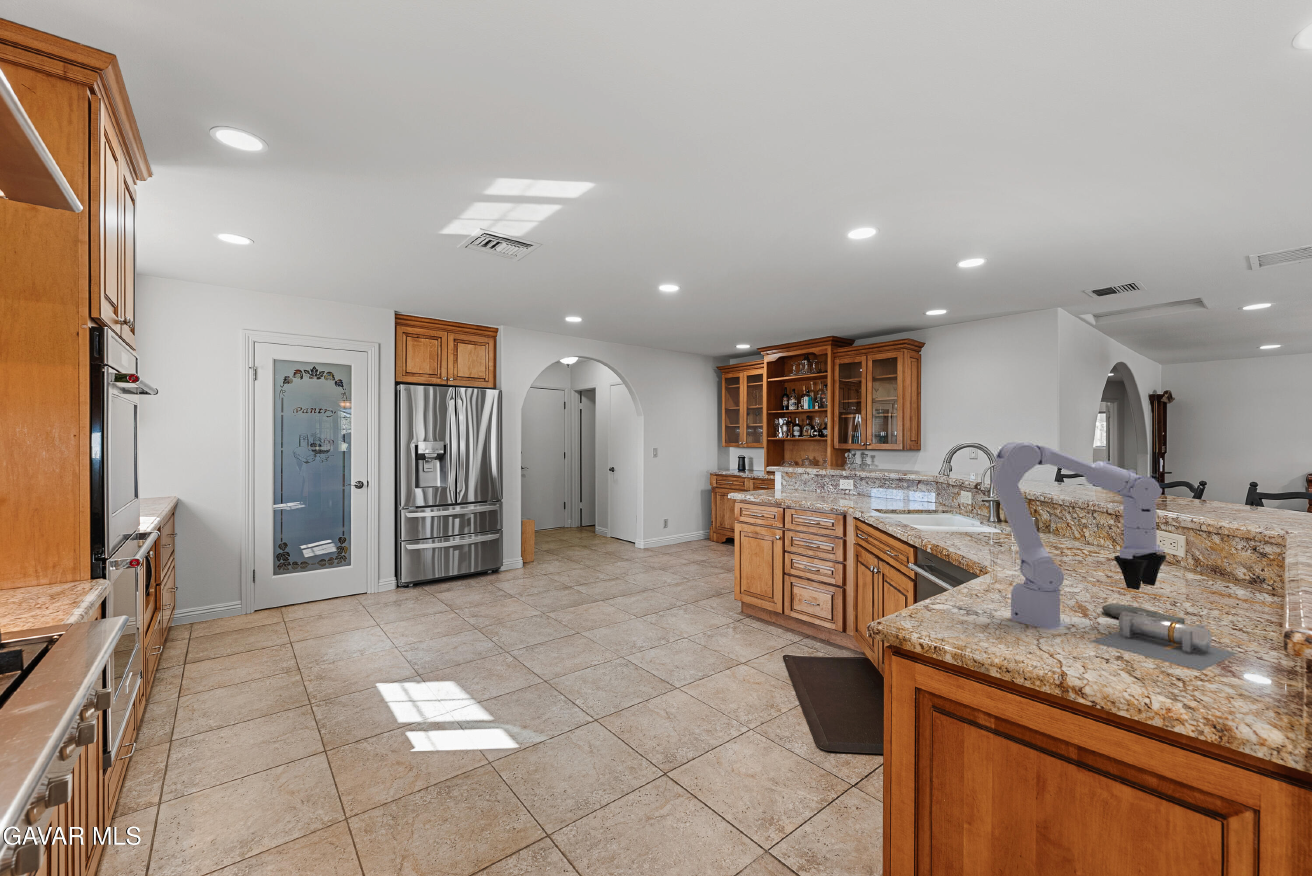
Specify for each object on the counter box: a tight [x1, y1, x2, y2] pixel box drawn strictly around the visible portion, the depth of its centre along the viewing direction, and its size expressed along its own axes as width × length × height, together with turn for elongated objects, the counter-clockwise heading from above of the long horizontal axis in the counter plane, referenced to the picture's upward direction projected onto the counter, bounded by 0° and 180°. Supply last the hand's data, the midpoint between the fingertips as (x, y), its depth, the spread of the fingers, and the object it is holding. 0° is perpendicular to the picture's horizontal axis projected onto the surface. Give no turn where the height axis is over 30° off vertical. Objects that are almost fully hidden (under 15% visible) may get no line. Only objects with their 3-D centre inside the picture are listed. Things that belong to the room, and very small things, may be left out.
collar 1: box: [1123, 612, 1146, 639], centre depth 123 cm, size 1×8×4 cm, turn 118°
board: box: [1089, 630, 1238, 672], centre depth 116 cm, size 18×18×1 cm
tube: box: [1118, 611, 1213, 651], centre depth 118 cm, size 14×4×4 cm, turn 28°
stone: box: [1101, 603, 1186, 624], centre depth 135 cm, size 11×4×15 cm
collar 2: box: [1182, 623, 1207, 654], centre depth 114 cm, size 1×8×4 cm, turn 118°
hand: (1140, 586), depth 127 cm, fingers open, 7 cm apart
